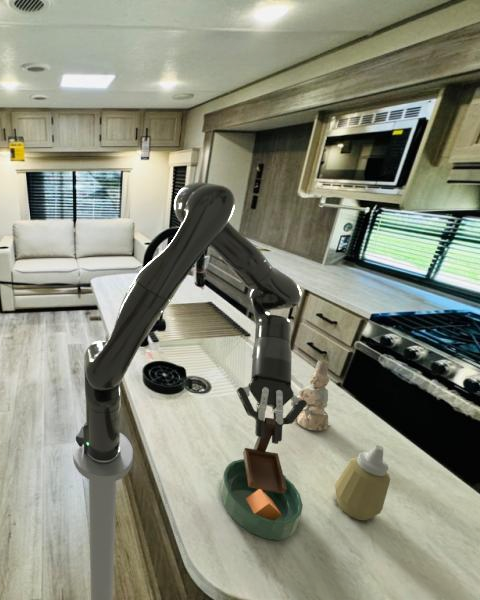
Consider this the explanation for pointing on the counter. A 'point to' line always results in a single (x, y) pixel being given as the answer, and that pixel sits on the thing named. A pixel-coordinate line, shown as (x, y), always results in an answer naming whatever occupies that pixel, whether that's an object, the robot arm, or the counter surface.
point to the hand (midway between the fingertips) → (268, 441)
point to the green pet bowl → (240, 510)
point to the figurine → (315, 400)
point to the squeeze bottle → (363, 485)
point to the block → (263, 505)
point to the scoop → (264, 464)
